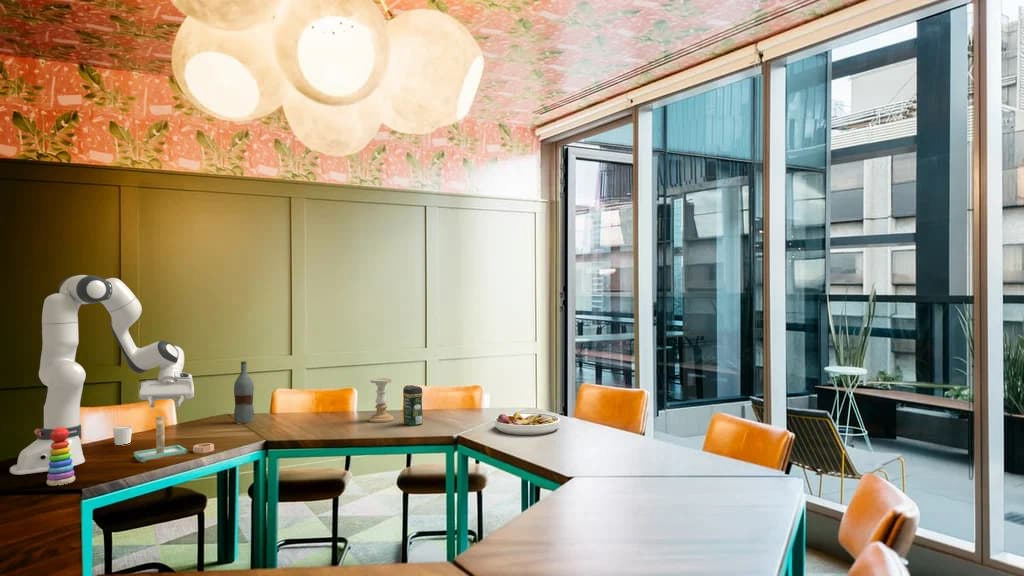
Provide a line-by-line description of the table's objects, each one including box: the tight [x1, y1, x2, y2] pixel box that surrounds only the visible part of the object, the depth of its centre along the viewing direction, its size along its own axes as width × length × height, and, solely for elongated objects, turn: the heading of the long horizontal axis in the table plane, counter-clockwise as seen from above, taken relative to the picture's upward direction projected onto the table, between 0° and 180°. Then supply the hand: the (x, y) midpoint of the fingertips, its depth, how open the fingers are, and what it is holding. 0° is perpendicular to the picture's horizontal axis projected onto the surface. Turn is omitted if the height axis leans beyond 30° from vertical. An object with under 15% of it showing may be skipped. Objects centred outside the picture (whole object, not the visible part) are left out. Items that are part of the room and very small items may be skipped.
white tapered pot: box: [112, 425, 133, 446], centre depth 271 cm, size 7×7×7 cm
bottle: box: [233, 361, 255, 424], centre depth 315 cm, size 9×9×30 cm
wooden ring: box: [192, 442, 215, 454], centre depth 254 cm, size 7×7×3 cm
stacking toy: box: [46, 427, 76, 487], centre depth 215 cm, size 8×8×19 cm
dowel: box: [155, 416, 166, 454], centre depth 250 cm, size 3×3×14 cm
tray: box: [133, 444, 188, 463], centre depth 249 cm, size 16×11×2 cm
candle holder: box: [368, 378, 395, 424], centre depth 317 cm, size 12×12×20 cm
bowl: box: [493, 412, 561, 436], centre depth 293 cm, size 30×30×8 cm
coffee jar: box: [402, 384, 424, 427], centre depth 307 cm, size 10×8×19 cm
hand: (164, 406), depth 261 cm, fingers open, 8 cm apart
